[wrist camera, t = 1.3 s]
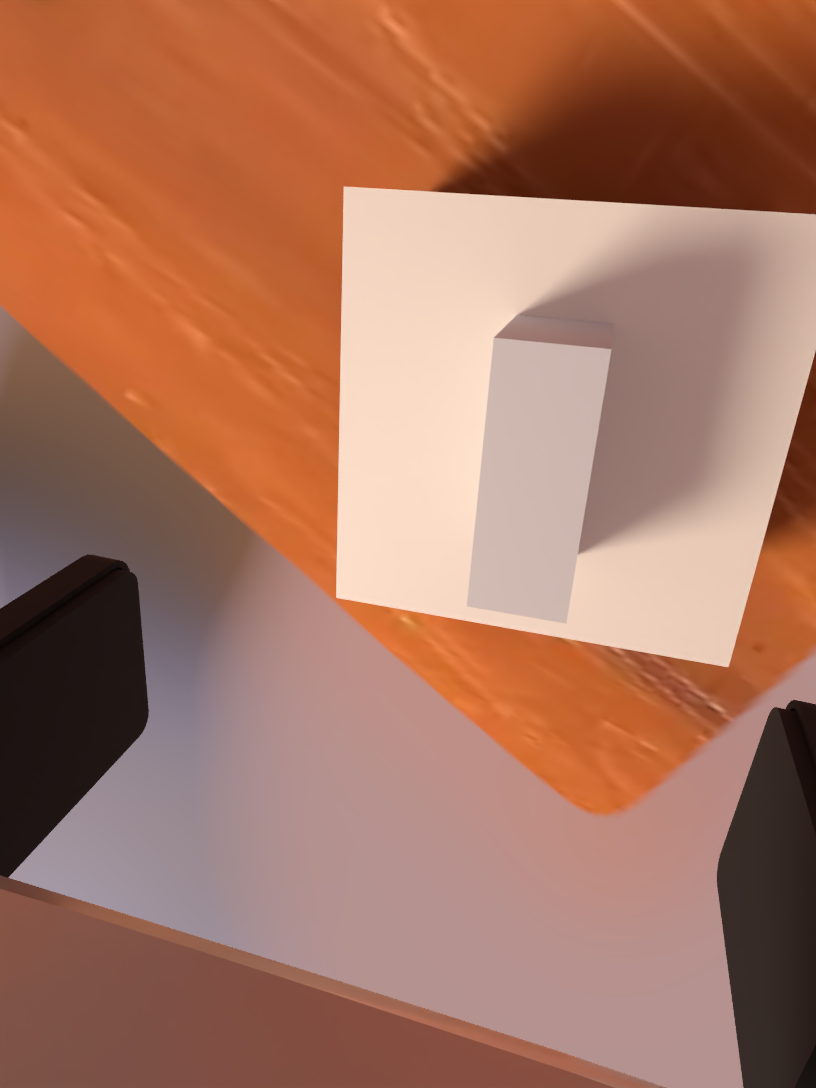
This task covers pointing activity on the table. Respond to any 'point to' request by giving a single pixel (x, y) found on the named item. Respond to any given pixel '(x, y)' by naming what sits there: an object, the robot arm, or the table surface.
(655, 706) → the table surface
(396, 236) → the lid
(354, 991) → the robot arm
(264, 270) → the table surface
